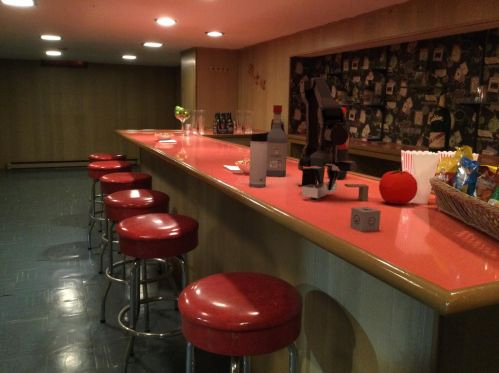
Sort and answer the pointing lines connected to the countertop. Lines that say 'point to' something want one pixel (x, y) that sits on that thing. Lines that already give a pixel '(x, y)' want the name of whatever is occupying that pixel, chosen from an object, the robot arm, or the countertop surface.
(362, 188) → the block
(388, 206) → the countertop surface
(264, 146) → the travel mug
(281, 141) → the liquor
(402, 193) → the tomato
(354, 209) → the dice cube
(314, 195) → the square scoop
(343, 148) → the cola bottle
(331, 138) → the robot arm
